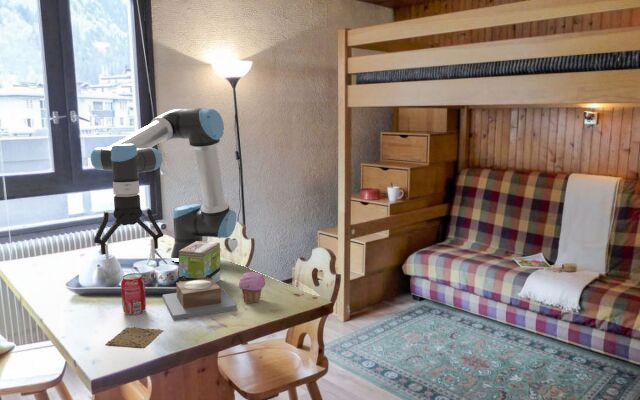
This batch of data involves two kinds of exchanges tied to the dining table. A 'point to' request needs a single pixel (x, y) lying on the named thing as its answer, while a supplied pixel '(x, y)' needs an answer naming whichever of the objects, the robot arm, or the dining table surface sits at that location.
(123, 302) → the soda can
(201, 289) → the block
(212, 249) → the tea box
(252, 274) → the cupcake
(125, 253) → the dining table surface
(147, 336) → the brown flat square slab
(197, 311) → the base board
